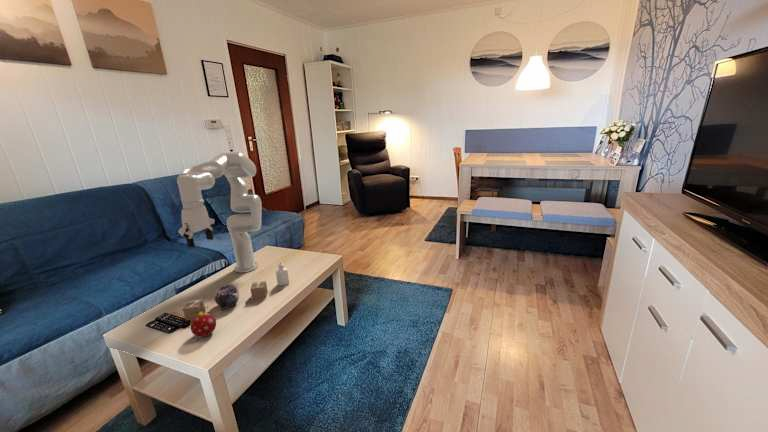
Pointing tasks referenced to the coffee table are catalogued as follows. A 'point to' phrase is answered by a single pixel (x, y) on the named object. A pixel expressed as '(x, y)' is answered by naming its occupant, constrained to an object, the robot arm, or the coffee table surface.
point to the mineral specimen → (226, 296)
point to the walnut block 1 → (259, 290)
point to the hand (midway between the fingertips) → (201, 243)
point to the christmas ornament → (203, 324)
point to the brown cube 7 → (193, 309)
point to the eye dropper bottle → (282, 275)
